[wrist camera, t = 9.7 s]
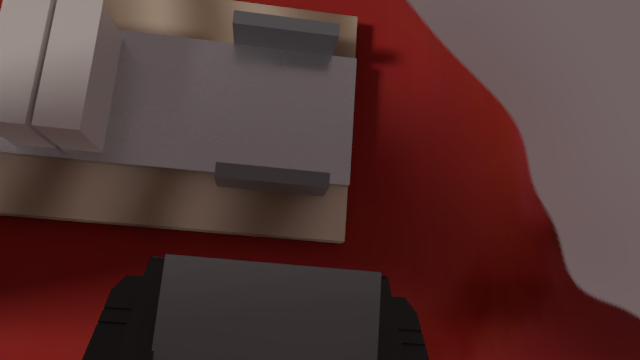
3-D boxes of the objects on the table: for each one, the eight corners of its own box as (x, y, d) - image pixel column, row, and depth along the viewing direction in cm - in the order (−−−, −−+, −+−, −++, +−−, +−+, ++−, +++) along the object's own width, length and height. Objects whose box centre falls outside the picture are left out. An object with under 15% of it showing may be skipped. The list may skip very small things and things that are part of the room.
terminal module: (181, 399, 16) (134, 470, 10) (197, 270, 17) (165, 254, 11) (322, 406, 17) (371, 479, 10) (330, 281, 18) (381, 272, 11)
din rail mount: (-13, 214, 29) (-77, 193, 23) (37, -15, 32) (-8, -81, 27) (341, 243, 31) (360, 231, 25) (353, 26, 34) (374, -27, 29)
